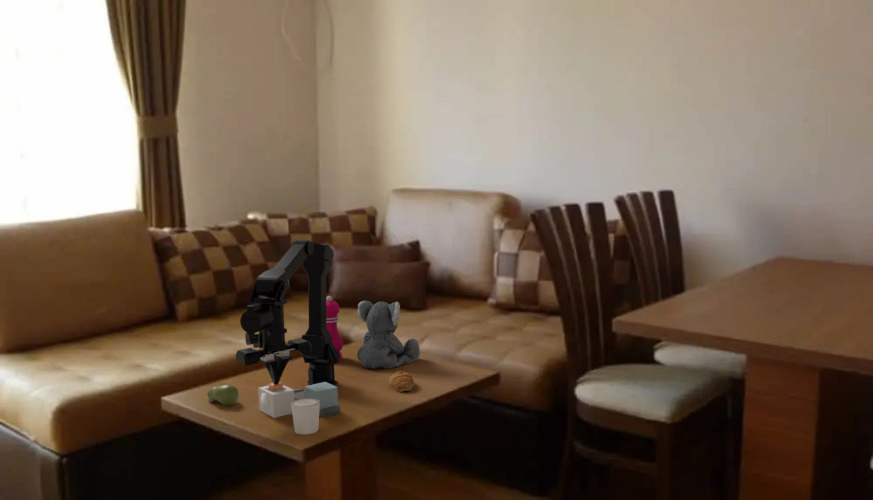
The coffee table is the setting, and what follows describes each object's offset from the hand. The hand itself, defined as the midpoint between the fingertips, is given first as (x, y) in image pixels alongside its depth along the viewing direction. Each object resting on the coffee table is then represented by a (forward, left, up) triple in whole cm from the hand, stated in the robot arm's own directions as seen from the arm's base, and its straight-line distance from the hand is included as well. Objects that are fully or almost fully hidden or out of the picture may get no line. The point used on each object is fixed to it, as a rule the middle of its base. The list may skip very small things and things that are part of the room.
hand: (275, 384), depth 228 cm
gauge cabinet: (0, 0, -7) cm, 7 cm away
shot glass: (+1, +17, -8) cm, 19 cm away
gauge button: (0, 0, -6) cm, 6 cm away
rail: (-9, +2, -7) cm, 12 cm away
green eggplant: (+8, -16, -8) cm, 20 cm away
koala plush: (-46, -19, -8) cm, 50 cm away
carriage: (-9, +7, -7) cm, 14 cm away
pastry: (-36, +4, -8) cm, 37 cm away
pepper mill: (-36, -33, -8) cm, 49 cm away
